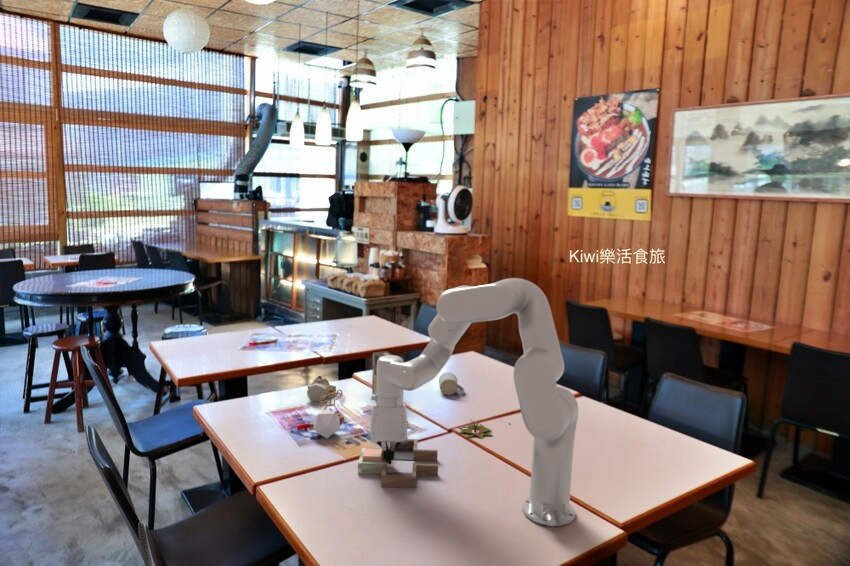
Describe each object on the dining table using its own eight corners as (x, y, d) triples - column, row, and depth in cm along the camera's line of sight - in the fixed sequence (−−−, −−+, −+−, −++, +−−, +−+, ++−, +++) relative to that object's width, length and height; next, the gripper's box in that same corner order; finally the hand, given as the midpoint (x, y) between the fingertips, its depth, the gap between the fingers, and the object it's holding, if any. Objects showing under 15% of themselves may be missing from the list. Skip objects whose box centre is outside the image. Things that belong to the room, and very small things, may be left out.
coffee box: (395, 397, 219) (396, 356, 216) (379, 399, 216) (380, 358, 214) (386, 390, 227) (387, 350, 225) (371, 392, 224) (371, 352, 222)
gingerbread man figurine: (318, 422, 192) (318, 388, 191) (316, 418, 196) (316, 384, 194) (344, 419, 196) (344, 386, 194) (341, 415, 199) (342, 382, 197)
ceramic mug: (439, 396, 222) (440, 377, 221) (438, 389, 230) (439, 371, 229) (465, 397, 222) (466, 378, 221) (463, 390, 230) (464, 372, 229)
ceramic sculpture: (301, 380, 209) (310, 370, 224) (300, 403, 209) (310, 392, 224) (330, 381, 208) (338, 371, 223) (329, 404, 209) (337, 393, 224)
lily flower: (463, 442, 182) (464, 428, 181) (452, 427, 193) (453, 414, 193) (499, 439, 185) (499, 425, 184) (486, 425, 196) (486, 412, 196)
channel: (438, 488, 151) (438, 478, 151) (354, 486, 151) (354, 475, 151) (436, 449, 175) (437, 439, 175) (364, 446, 175) (364, 437, 175)
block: (380, 470, 161) (380, 456, 160) (362, 469, 161) (362, 456, 160) (381, 462, 166) (382, 449, 165) (364, 461, 166) (364, 448, 165)
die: (345, 438, 182) (344, 408, 187) (330, 433, 175) (329, 403, 180) (323, 443, 185) (323, 413, 190) (307, 438, 178) (307, 408, 182)
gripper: (361, 404, 157) (360, 467, 159) (416, 405, 157) (414, 469, 159) (364, 394, 164) (363, 455, 167) (416, 396, 164) (415, 457, 167)
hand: (388, 461), depth 163 cm, fingers closed
